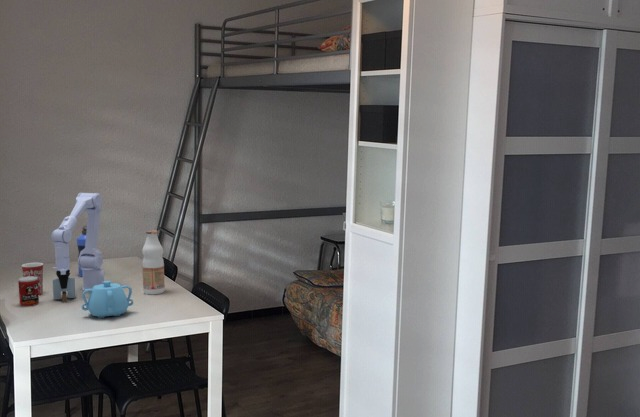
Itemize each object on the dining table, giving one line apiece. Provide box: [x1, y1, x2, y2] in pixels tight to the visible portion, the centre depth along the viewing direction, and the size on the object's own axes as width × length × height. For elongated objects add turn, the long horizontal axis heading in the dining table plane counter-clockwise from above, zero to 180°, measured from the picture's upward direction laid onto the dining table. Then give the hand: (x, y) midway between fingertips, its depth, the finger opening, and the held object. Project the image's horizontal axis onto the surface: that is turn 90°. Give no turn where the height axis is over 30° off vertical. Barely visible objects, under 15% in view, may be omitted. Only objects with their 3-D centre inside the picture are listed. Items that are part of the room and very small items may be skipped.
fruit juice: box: [141, 229, 166, 296], centre depth 323 cm, size 9×9×28 cm
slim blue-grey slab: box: [52, 276, 77, 300], centre depth 313 cm, size 9×2×8 cm, turn 110°
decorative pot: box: [81, 280, 134, 319], centre depth 288 cm, size 16×16×14 cm
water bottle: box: [76, 225, 94, 278], centre depth 358 cm, size 9×9×25 cm
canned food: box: [17, 276, 40, 307], centre depth 306 cm, size 8×8×11 cm
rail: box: [61, 291, 68, 303], centre depth 313 cm, size 2×12×3 cm, turn 20°
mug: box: [21, 262, 44, 296], centre depth 323 cm, size 13×9×14 cm
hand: (63, 287), depth 313 cm, fingers closed on slim blue-grey slab, 2 cm apart
